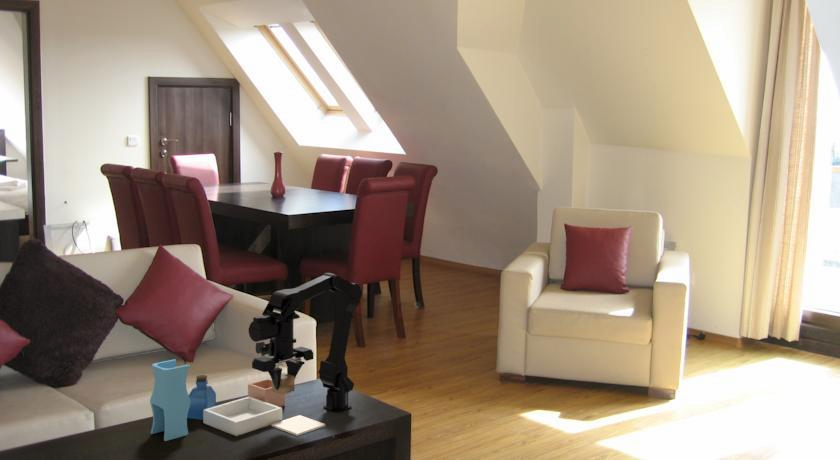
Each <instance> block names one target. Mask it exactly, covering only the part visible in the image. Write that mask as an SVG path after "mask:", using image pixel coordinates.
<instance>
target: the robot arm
mask: <svg viewBox="0 0 840 460" xmlns="http://www.w3.org/2000/svg"><path fill="white" fill-rule="evenodd" d="M327 291H331V292H332V293H333V302H334V304H335V308H336V313H335V317H334V323H333V330H332V335H331V341H330V346H329V352H328V356H327V357H326V358H325V360H320V361H319V363H320V364H319V369H318V372H317V374H318V375H319V377H318V378H319V380H320V382H321V384H322V386H323V387H322V388H327V391H326V395H325V396H326V400H325V405H323V406H322V407H323V409H326V410H329V411H332V412H335V413H340V412H342V411H343V412H344V411H346V410H348V409H352V405H350V404H349V393H350V392H351V391H353V388H354V386H355V383H354V382H353V381H352V380H351V378H349V377H348V373H349V372H348V368H349V367H348V365H347V362H346V357H345V356H346V352H347V348H348V347H347V346H348V341H349V336H350V330H351V324H352V319H353V313H354V311H355V310H356V309H357V308H358V306H359V305H360V302H361V299H362V296H363V288H362V287H361V286H360V284H357V283H354V282H351V281H348V280H346V279H344V278H342V277H341V276H339V275H338V274H335V273H332V272H325V273H323V274H322V275H321V276H318V277H316V278H314V279H312V280H309V281H307V282H305V283H303V284H301V285H299V286H296V287H294V288H284V289H281V290H275V291H274V292H273V293H271V295H270V299H269V301H268V303H267V304H266V307H265V308H264V309H263V311H262V313H261V314H262V316H254V317H253V319H252V321H251V322H250V324H249V327H248V335H249V337H250V340H252V342H255V352H256V353H257V355H258V354H261V356H260V357H255V358H254V359H253V360H252V361H251V368H252V369H253V370H257V371H260V372H262V373H265V372H266V373H268V374H269V376H270V379H271V380H272V382H273V384H274V387H275V389H276V390H279V386H280V380H281V374H282V373H283V368H282V367H280V364H282V363H285V365H286V367H287V372H286V373H287V374H290V375H293V376H294V381H295V380H296V378H297V376H298V373H299V371H300V370H301V368H302V367H303V365H305V361H306V362H307V361H311V360H314V351H313V349H311V348H307V347H304V346H299V347H295V348H294V344H296V343H297V339H296V338H294V320H297V319H300V315H299V314H298V313H297V312H296V311H297V310H299V309H300V308H301V306H302V305H303V303H305V302H306V301H308V300H310V299H312V298H314V297H317V296H319V295H321V294H323V293H325V292H327ZM265 340H269V343H265V342H264V341H265ZM265 355H268V356H269V357H268V356H265ZM271 357H272V358H271ZM302 358H303V360H304V361H303V360H302Z"/></svg>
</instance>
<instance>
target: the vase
mask: <svg viewBox="0 0 840 460" xmlns="http://www.w3.org/2000/svg"><path fill="white" fill-rule="evenodd" d="M190 366H191V364H185V365H180V366H177V359H176V358H175V359H170V360H164V361H161V362H160V361H159V362H155V363H152V364H151V368H152V371H153V375H154V376H153V377H154V385H153V386H154V387H153V389H152V394H151V396H150V399H149V403H150V408H151V411H152V418H153V419H152V425H151V430H150V434H151V435H153V434H154V435H155V434H157V433H161V432H164V434H163V441H164V442H167V441H170V440H175V439H177V438H181V437H185V436H188V435H189V429H188V418H187V415H188V410H189V407H190V398H189V394H188V390H187V378H188V377H187V376H188V373H189V371H190V370H189V369H190Z"/></svg>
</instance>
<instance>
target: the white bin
mask: <svg viewBox="0 0 840 460" xmlns="http://www.w3.org/2000/svg"><path fill="white" fill-rule="evenodd" d="M280 421H283V407H278V406H275V405H272V404H270V403H267V402H264V401H261V400H258V399H255V398H253V397H250V396H249V397H248V396H246V397H242V398H239V399H235V400H232V401H229V402H228V401H227V402H225V403H221V404H218V405H216V406H215V407H211V408H208V409H204V410H203V423H202V424H205V425H207V426H209V427H212V428H215V429H217V430H220V431H222V432H224V433H227V434H229V435H232V436H235V437H238V436H242V435H245V434H247V433H250V432H253V431H256V430H259V429H263V428H265V427H266V428H267V427H269V426H271V424H274V423H277V422H280Z"/></svg>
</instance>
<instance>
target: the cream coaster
mask: <svg viewBox="0 0 840 460" xmlns="http://www.w3.org/2000/svg"><path fill="white" fill-rule="evenodd" d="M270 426H271V427H272V428H275V429H278V430H280V431H283V432H286V433H288V434H290V435H294V436H296V437H298V436H302V435H304V434H307V433H310V432H312V431H315V430H318V429H320V428H321V429H322V428H324V427H326V423H323V422H321V421H318V420H315V419H311V418H309V417H307V416H303V415H301V414H299V415H298V414H297V415H295V416H293V417H289V418H286V419H282V421H280V422H277V423H274V424H271V425H270Z"/></svg>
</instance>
